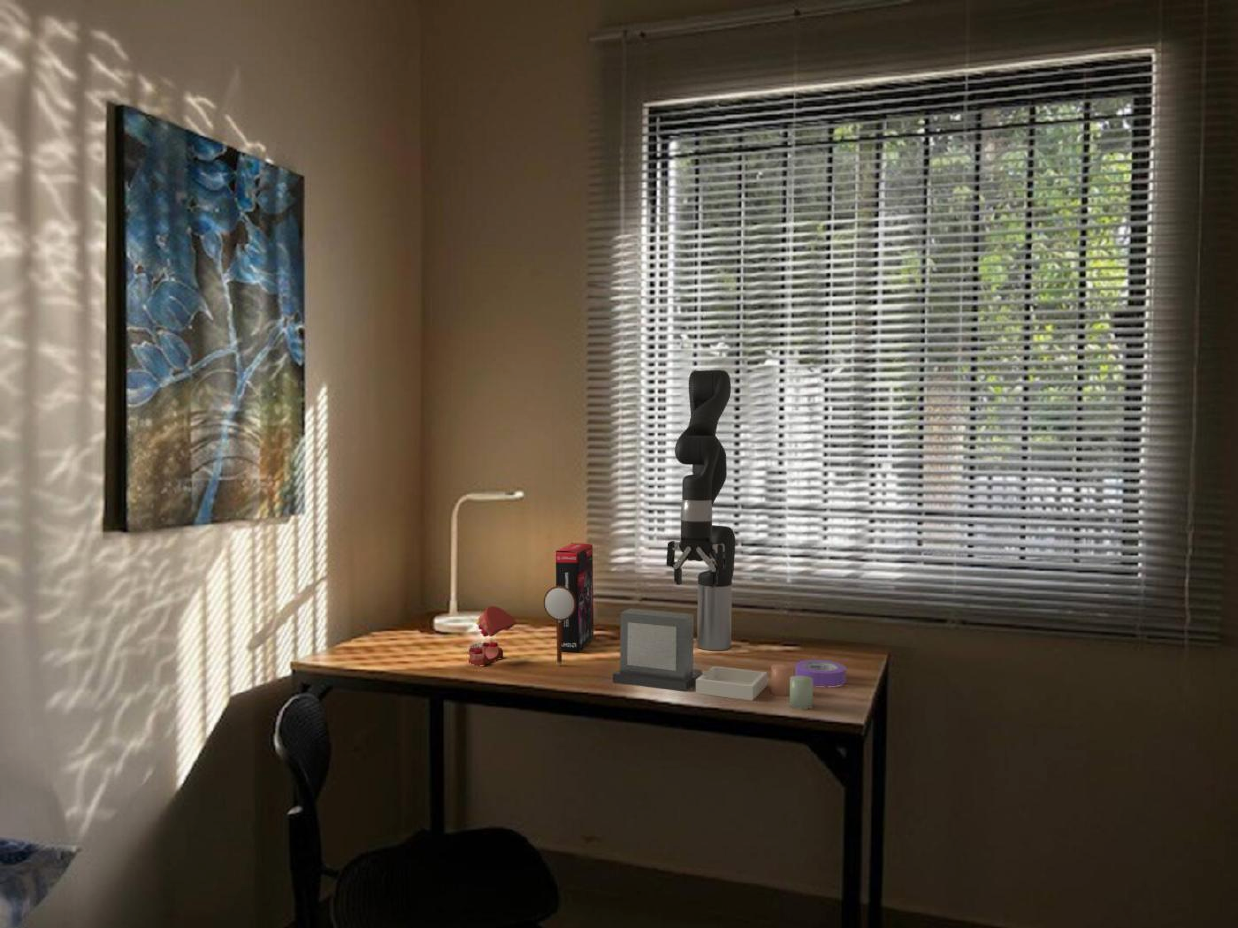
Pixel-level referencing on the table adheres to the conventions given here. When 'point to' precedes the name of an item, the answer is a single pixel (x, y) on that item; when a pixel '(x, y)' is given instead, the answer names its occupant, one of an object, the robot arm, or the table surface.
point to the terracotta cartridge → (781, 679)
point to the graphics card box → (577, 593)
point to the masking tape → (822, 672)
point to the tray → (731, 683)
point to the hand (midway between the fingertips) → (695, 585)
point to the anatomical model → (490, 625)
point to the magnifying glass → (559, 610)
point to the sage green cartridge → (801, 692)
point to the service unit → (657, 650)
